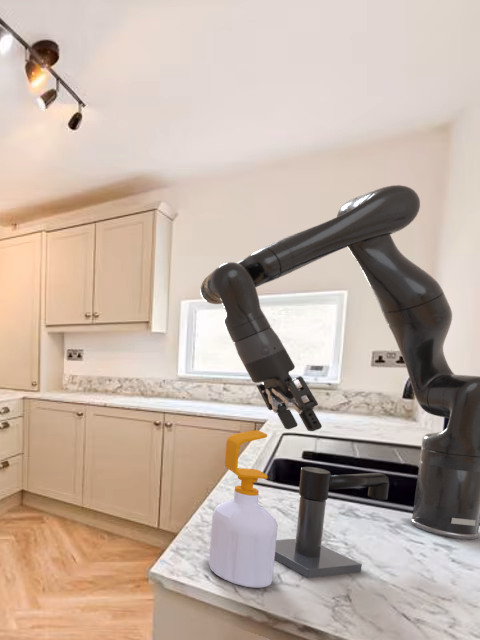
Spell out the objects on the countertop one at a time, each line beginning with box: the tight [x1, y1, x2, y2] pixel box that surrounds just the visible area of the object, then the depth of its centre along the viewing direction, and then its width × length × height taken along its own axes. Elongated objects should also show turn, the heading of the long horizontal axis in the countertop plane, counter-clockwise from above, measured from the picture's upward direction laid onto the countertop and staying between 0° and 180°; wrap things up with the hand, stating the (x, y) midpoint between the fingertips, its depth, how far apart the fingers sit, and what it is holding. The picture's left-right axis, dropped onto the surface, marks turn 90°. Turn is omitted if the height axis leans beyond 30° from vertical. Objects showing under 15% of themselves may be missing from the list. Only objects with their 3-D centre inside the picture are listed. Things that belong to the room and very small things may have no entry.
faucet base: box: [274, 494, 362, 579], centre depth 76 cm, size 11×10×12 cm
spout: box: [298, 466, 390, 501], centre depth 76 cm, size 18×4×6 cm, turn 101°
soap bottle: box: [208, 429, 279, 589], centre depth 70 cm, size 9×9×25 cm
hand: (303, 428), depth 83 cm, fingers open, 8 cm apart
